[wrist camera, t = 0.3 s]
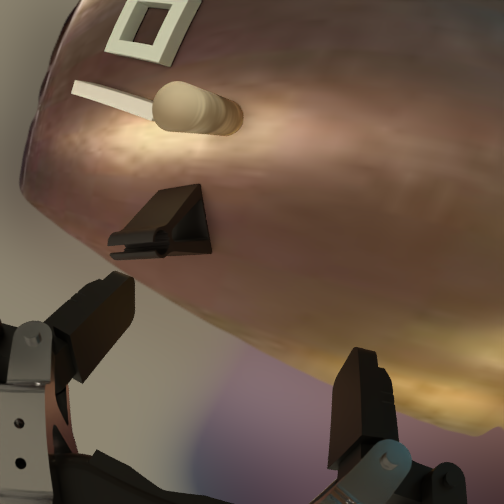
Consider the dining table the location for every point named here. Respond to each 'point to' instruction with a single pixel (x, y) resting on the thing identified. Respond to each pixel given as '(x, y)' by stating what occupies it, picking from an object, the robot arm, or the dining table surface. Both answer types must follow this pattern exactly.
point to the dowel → (195, 110)
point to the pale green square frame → (168, 39)
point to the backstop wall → (115, 98)
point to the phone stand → (166, 227)
